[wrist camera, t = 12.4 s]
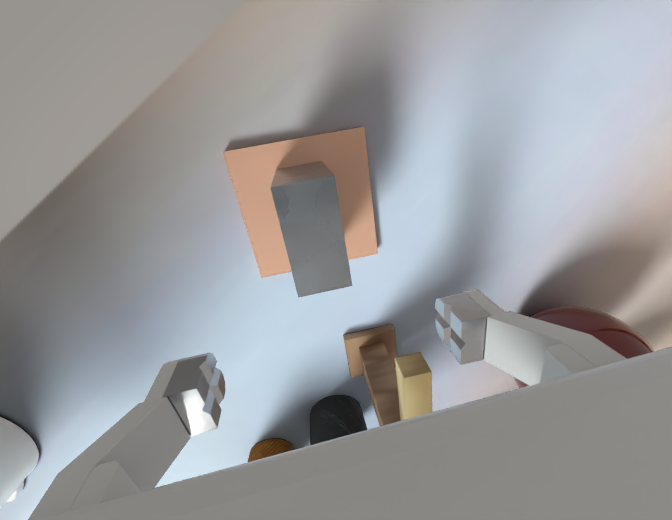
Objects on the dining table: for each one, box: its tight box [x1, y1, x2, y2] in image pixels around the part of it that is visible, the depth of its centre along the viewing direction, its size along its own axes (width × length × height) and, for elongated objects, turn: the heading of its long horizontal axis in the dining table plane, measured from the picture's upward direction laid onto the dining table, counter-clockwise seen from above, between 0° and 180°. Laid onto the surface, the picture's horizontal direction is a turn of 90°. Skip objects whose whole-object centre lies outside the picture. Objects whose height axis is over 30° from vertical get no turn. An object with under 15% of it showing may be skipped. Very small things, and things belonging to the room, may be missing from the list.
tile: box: [223, 127, 378, 278], centre depth 27 cm, size 12×12×1 cm
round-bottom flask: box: [514, 306, 655, 388], centre depth 30 cm, size 13×13×20 cm
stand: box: [343, 324, 432, 426], centre depth 27 cm, size 6×16×16 cm, turn 9°
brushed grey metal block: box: [270, 161, 352, 297], centre depth 23 cm, size 8×4×8 cm, turn 9°
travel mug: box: [310, 395, 367, 445], centre depth 31 cm, size 8×8×20 cm
